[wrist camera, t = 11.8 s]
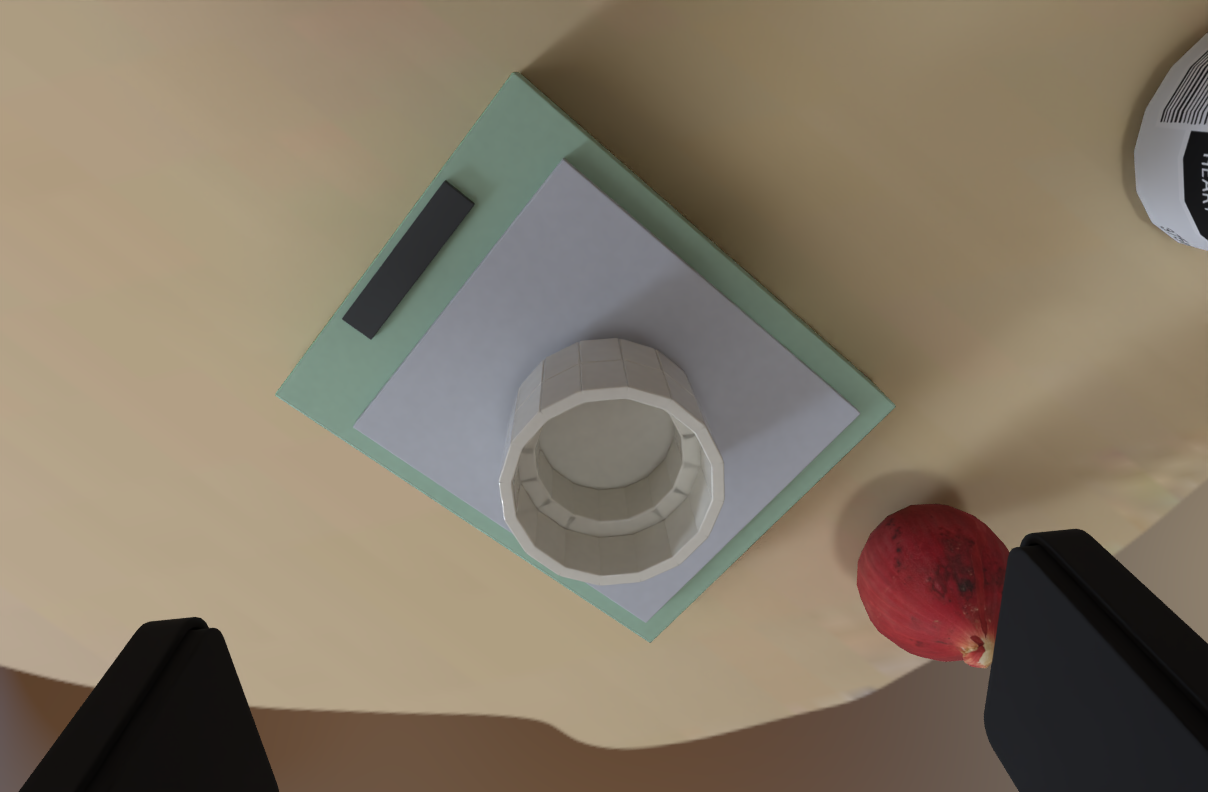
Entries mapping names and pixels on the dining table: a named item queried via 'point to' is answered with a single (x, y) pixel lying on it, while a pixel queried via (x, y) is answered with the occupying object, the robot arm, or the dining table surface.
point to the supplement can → (1177, 151)
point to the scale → (572, 339)
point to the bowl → (610, 464)
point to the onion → (935, 583)
